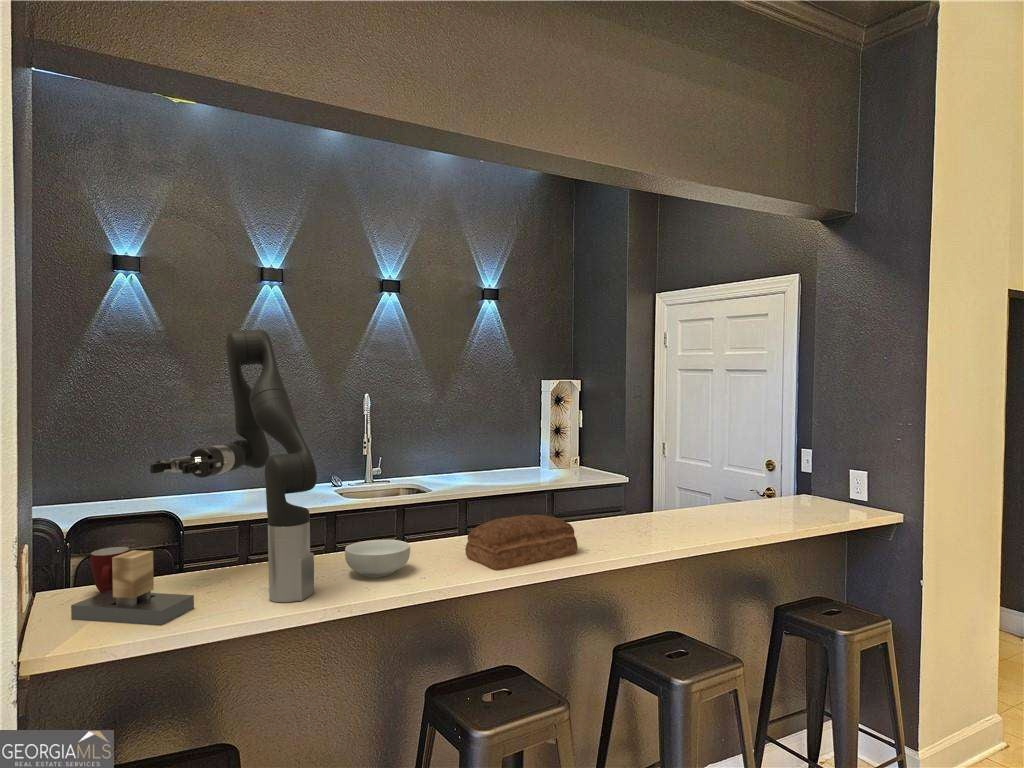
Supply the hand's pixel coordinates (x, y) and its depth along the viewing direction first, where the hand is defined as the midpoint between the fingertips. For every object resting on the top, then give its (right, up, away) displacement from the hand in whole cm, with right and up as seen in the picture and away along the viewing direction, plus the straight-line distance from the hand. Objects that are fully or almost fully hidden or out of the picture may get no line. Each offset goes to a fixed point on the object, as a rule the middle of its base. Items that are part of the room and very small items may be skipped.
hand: (167, 469), depth 154 cm
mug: (-15, -30, +3) cm, 34 cm away
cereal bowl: (+46, -30, +18) cm, 57 cm away
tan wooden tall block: (-2, -30, -11) cm, 32 cm away
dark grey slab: (-2, -30, -11) cm, 32 cm away
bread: (+84, -29, +32) cm, 94 cm away
